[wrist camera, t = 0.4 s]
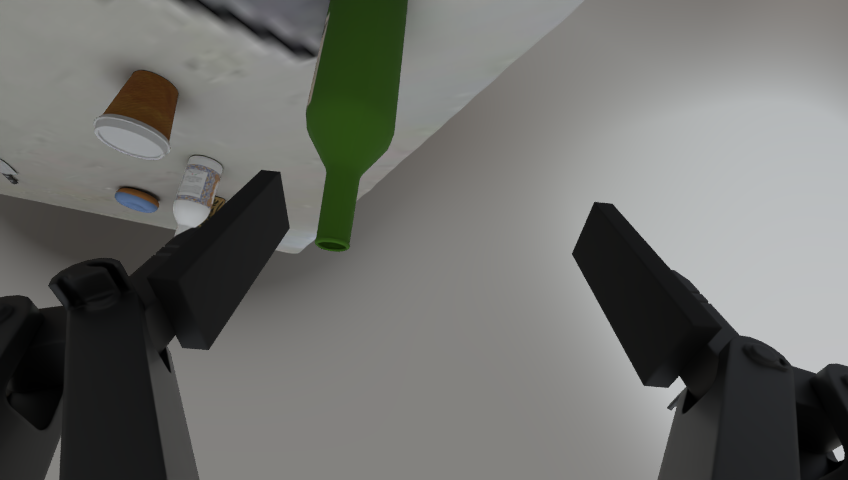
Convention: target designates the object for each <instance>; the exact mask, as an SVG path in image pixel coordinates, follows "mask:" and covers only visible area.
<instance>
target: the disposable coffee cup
mask: <svg viewBox="0 0 848 480" xmlns="http://www.w3.org/2000/svg"><path fill="white" fill-rule="evenodd" d="M177 98H178V91H177V89H176V88H175V87H174V86H173V85H172V84H171V83H170V82H169V81H167V80H166V79H164V78H163V77H161V76H159V75H157V74H154V73H152V72H148V71H142V70H139V71H135V72H134V73H133V74H132V76H131V77H130V78H129V80H128V81H127V82H126V84H125V85H124V86H123V88H122V89H121V90H120V92H119V93H118V95H117V96H116V97H115V98H114V100H113V101H112V103H111V104H110V105H109V107H108V108H107V109H106V111H105V112H104V113H103V115H101V116H99V117H97V118H96V119H95V120H94V122H93V123H94V127H95V131H94V132H95V135H96V136H97V137H98V138H99V139H100V140H101V141H102V142H104V143H105V144H106V145H108V146H110V147H112V148H114V149H115V150H118V151H120V152H122V153H125V154H127V155H130V156H134V157H137V158H141V159H148V160H158V159H161V158H163V157H164V156H165V154H168V153H169V152H170V143H169V139H170V134H171V129H172V124H173V119H174V114H175V108H176V104H177Z"/></svg>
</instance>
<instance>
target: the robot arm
mask: <svg viewBox="0 0 848 480" xmlns="http://www.w3.org/2000/svg"><path fill="white" fill-rule="evenodd" d="M289 228H290V227H289V221H288V215H287V209H286V203H285V197H284V191H283V185H282V180H281V174H280V172H276V171H266V170H261V171H260V172H259V173H258V174H257V175H256V176H255V177H253V178H252V179H251V180H250V181H249V182H248V183H247V184H246V185H245V186H244V187H243V188H242V189H241V190H240V191H238V192H237V193H236V194H235V195H234V196H233V197H232V198H231V199H230V200H229V201H228V202H227V203H226V204H225V205H223V206H222V207H221V208H220V209H219V210H218V211H217V212H216V213H215V214H214V215H213V216H212V217H211V218H210V219H208V220H207V221H206V222H205V223H204V224H203V225H202V226H201V227H200V228H194V227H192V228H190V229H188V230H186V231H184V232H182V233H180V234H178V235H176V236H175V237H174V238H173V239H171V240H170V241H169V242H168V243H167V244H166V245H165V247H162V248H161V249H160V250H159V251H158V252H157V253H156V255H153V256H152V257H151V258H150V259H149V260H147V261H146V262H145V263H144V264H143V265H142V266H141V267H140V268H138V269H137V270H136V271H135V272H134V273H133V274H132V275H131V276H128V275H127V273H126V271H125V269H124V267H123V266H122V264H121V263H120V261H118V260H115V259H112V258H98V259H92V260H87V261H84V262H81V263H78V264H75V265H72V266H70V267H68V268H66V269H65V270H62V271H61V272H59V273H58V274H57V275H56V276H54V277H53V278H52V279H51V281H50V283H49V285H48V286H49V287H50V289H51V290H52V291H53V293H54V294H55V295H56V297H57V298H58V299H59V301H60V302H61V303H62V305H63V306H58V307H50V308H42V309H38V308H37V307H36V306H35V305H34V303H33V302H32V301H31V300H30V299H29V298H28V297H25V296H20V295H16V296H5V297H0V480H44V479H45V476H46V474H47V471H48V468H49V466H50V463H51V460H52V457H53V455H54V452H55V450H56V447H57V444H58V442H59V439H60V436H61V455H60V479H59V480H199V476H198V471H197V467H196V463H195V459H194V454H193V450H192V445H191V440H190V436H189V432H188V427H187V424H186V418H185V414H184V410H183V406H182V401H181V396H180V392H179V388H178V384H177V379H176V375H175V370H174V366H173V362H172V357H171V353H170V351H169V349H168V347H167V345H168V344H169V342H170V341H171V340H172V339H173V337H174V336H175V335H176V337H177V339H178V340H179V342H180V344H181V346H182V348H190V349H202V350H209V349H210V347H211V346H212V344H213V343H214V341H215V339H216V338H217V337H218V335H219V334H220V332H221V331H222V329H223V327H224V326H225V325H226V323H227V322H228V320H229V319H230V317H231V316H232V314H233V312H234V311H235V309H236V308H237V306H238V305H239V303H240V302H241V300H242V299H243V297H244V296H245V294H246V293H247V291H248V290H249V288H250V287H251V285H252V284H253V282H254V281H255V279H256V278H257V276H258V275H259V273H260V272H261V270H262V269H263V267H264V266H265V264H266V263H267V261H268V260H269V258H270V257H271V255H272V254H273V252H274V251H275V249H276V248H277V246H278V245H279V243H280V242H281V240H282V239H283V237H284V236H285V234H286V233H287V231H288V230H289ZM572 255H573V257H574V258H575V260H576V262H577V264H578V266H579V268H580V270H581V271H582V273H583V275H584V277H585V279H586V281H587V282H588V284H589V286H590V288H591V290H592V292H593V293H594V295H595V297H596V299H597V301H598V303H599V304H600V306H601V308H602V310H603V312H604V314H605V315H606V317H607V319H608V321H609V322H610V324H611V326H612V328H613V330H614V332H615V334H616V336H617V337H618V339H619V341H620V343H621V345H622V347H623V348H624V350H625V352H626V354H627V356H628V358H629V359H630V361H631V363H632V365H633V367H634V368H635V370H636V372H637V374H638V376H639V378H640V379H641V381H642V383H643V385H644V386H654V387H665V388H668V387H669V386H670V385H671V384H672V383H673V382H674V381H675V380H676V378H678V376H680V377H681V379H682V380H683V382H684V383H685V385H686V388H685V389H684V390H683V391H682V392H681V393H680V394H679V395H678V396H677V397H676V398H675V399H674V400H673V401H672V402H671V403H670V405H669V406H668V407H667V408H668V409H670V410H672V409H673V408H674V407H675V406H677V408H676V412H675V415H674V419H673V423H672V427H671V431H670V434H669V438H668V442H667V446H666V450H665V453H664V457H663V462H662V465H661V469H660V472H659V476H658V480H848V366H844V365H840V364H829V365H827V366H826V367H825V368H823V369H822V370H821V371H819V372H818V373H817V374H816V373H813V372H809V371H806V370H803V369H800V368H797V367H793V366H791V364H790V363H789V362H788V361H787V360H786V359H785V357H784V356H783V355H781V354H780V353H779V352H777V351H776V350H775V349H773V348H772V347H770V346H769V345H767V344H765V343H763V342H761V341H759V340H756V339H754V338H751V337H746V336H740V335H739V334H738V333H737V332H736V331H735V330H734V329H733V328H732V327H731V326H730V325H729V323H728V322H727V321H726V320H725V319H724V318H723V317H722V316H721V315H720V313H719V312H718V311H717V310H716V309H715V308H714V307H713V306H712V305H711V304H708V300H707V299H706V298H705V297H704V296H703V295H702V294H700V292H699V291H698V290H697V288H696V287H695V286H694V285H693V284H692V283H691V282H690V281H689V280H688V279H686V278H685V277H683V276H682V275H680V274H679V273H678V272H676V271H674V270H671V269H670V268H669V267H668V266H667V265H666V264H665V263H664V262H663V260H662V259H661V258H660V257H659V256H658V255H657V254H656V252H655V251H654V250H653V249H652V248H651V247H650V246H649V245H648V244H647V242H646V241H645V240H644V239H643V238H642V237H641V236H640V235H639V233H638V232H637V231H636V230H635V229H634V228H633V227H632V225H631V224H630V223H629V222H628V221H627V220H626V219H625V218H624V217H623V215H622V214H621V213H620V212H619V211H618V210H617V209H616V207H615V206H614V205H613V204H609V203H599V202H594V204H593V206H592V209H591V211H590V214H589V216H588V218H587V220H586V223H585V225H584V227H583V230H582V232H581V234H580V237H579V239H578V241H577V244H576V246H575V248H574V250H573V253H572ZM841 445H842V446H843V449H844V452H845V457H844V460H842V461H839V462H838V461H837V459H836V458H835V455H834V453H833V451H832V450H834V449H835V448H837V447H839V446H841Z"/></svg>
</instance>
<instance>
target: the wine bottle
mask: <svg viewBox="0 0 848 480" xmlns="http://www.w3.org/2000/svg"><path fill="white" fill-rule="evenodd" d="M407 3H408V0H330V4H329V9H328V14H327V18H326V22H325V26H324V31H323V36H322V40H321V45H320V49H319V54H318V58H317V63H316V67H315V72H314V77H313V81H312V86H311V90H310V95H309V99H308V104H307V109H306V121H307V130H308V133H309V136H310V138H311V140H312V142H313V144H314V146H315V148H316V150H317V152H318V154H319V156H320V158H321V160H322V162H323V164H324V166H325V168H326V172H327V173H326V180H325V186H324V192H323V199H322V205H321V211H320V218H319V224H318V230H317V237H316V240H315V244H316V245H317V246H318V247H320V248H321V249H324V250H328V251H338V252H340V251H345V250H347V249H349V247H350V245H349V242H350V237H351V230H352V224H353V218H354V211H355V204H356V199H357V192H358V186H359V180H360V178H361V176H362V175H363V174H364V173H365V172H366V171H367V170H368V169H369V168H370V167H371V166H372V165H373V164H374V163H375V162H376V161H377V160H378V159H379V158H380V157H381V156H382V155H383V154H384V153H385V152H386V151H387V149H388V147H389V145H390V143H391V141H392V138H393V135H394V130H395V121H396V111H397V101H398V92H399V82H400V72H401V63H402V53H403V43H404V34H405V24H406V14H407Z"/></svg>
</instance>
